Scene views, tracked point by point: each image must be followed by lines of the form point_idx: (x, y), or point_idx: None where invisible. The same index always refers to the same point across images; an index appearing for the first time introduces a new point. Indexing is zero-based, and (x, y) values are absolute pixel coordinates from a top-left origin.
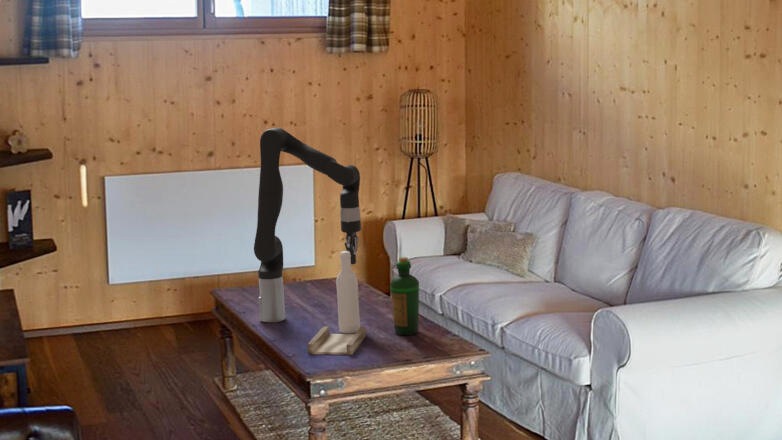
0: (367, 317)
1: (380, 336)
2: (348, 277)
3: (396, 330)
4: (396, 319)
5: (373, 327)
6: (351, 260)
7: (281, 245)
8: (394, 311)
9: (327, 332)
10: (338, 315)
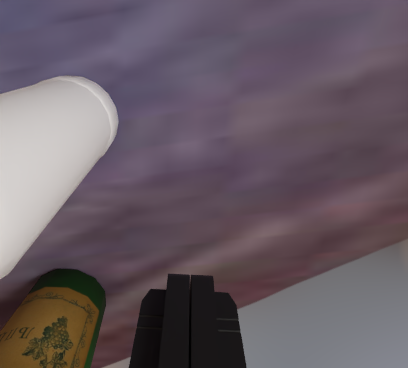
0: (259, 159)
1: None
2: None
3: (39, 281)
4: (14, 312)
5: (126, 196)
6: (146, 324)
7: None
8: (3, 330)
9: None
10: (31, 85)
